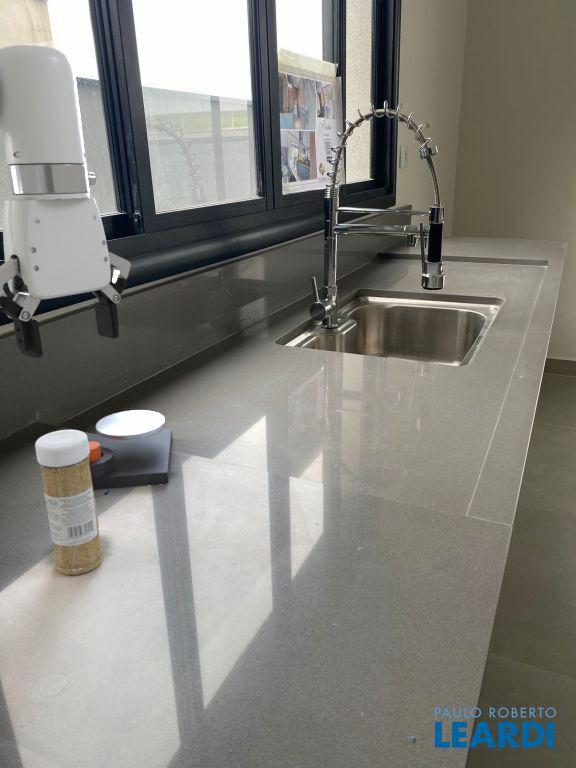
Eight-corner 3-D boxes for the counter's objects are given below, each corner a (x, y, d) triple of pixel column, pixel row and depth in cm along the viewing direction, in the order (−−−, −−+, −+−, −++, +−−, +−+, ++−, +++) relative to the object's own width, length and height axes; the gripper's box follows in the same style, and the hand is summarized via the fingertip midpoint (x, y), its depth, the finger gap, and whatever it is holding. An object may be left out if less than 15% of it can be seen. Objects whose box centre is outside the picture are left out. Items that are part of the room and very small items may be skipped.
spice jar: (102, 545, 62) (86, 424, 58) (105, 571, 58) (88, 443, 54) (54, 555, 61) (35, 431, 56) (54, 581, 57) (33, 451, 52)
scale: (64, 494, 73) (60, 468, 71) (84, 445, 86) (81, 422, 85) (168, 486, 74) (166, 460, 73) (172, 439, 88) (171, 417, 87)
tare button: (75, 464, 73) (73, 451, 73) (79, 454, 76) (78, 441, 75) (99, 462, 74) (97, 449, 73) (102, 453, 76) (101, 440, 76)
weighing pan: (91, 449, 76) (90, 437, 76) (102, 422, 85) (101, 412, 84) (164, 444, 78) (163, 432, 77) (167, 418, 86) (166, 408, 86)
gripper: (99, 183, 71) (115, 326, 76) (-54, 186, 58) (-21, 358, 63) (140, 182, 66) (154, 334, 72) (-15, 185, 53) (16, 370, 59)
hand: (72, 345), depth 67 cm, fingers open, 9 cm apart
